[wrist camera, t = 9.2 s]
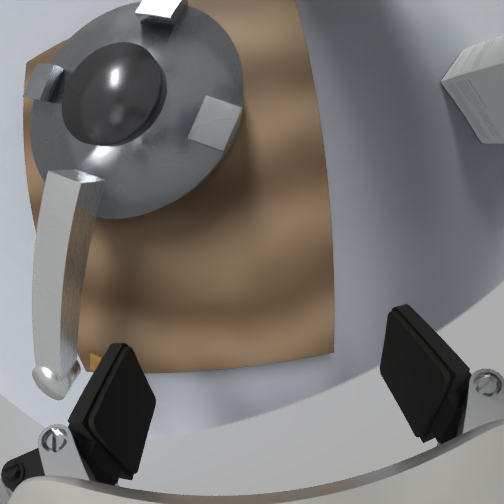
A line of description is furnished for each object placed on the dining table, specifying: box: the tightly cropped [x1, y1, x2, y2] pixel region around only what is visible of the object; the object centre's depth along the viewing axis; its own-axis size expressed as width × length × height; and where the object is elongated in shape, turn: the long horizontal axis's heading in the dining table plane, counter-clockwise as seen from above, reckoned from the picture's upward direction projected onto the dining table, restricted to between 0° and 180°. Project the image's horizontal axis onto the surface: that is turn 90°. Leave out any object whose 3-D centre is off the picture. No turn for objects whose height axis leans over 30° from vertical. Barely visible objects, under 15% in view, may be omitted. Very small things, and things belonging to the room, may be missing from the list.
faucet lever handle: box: [23, 0, 244, 400], centre depth 13 cm, size 24×12×7 cm, turn 158°
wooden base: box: [23, 0, 334, 373], centre depth 17 cm, size 27×21×2 cm
